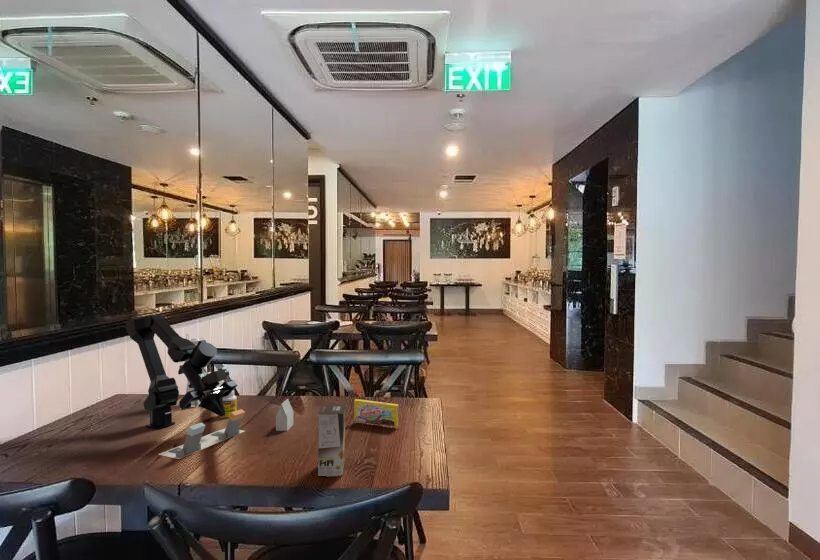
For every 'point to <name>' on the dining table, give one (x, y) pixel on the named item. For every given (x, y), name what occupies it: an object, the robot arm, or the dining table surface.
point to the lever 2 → (234, 423)
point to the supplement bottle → (229, 404)
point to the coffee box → (331, 440)
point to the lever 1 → (193, 438)
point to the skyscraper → (196, 403)
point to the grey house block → (284, 417)
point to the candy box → (376, 412)
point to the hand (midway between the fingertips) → (223, 415)
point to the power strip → (204, 443)
